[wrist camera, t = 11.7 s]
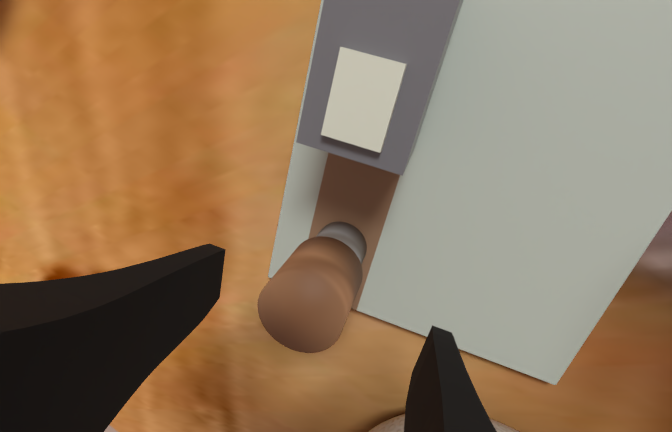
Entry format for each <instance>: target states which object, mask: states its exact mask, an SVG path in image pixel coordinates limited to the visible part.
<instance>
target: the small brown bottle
mask: <svg viewBox="0 0 672 432" xmlns="http://www.w3.org/2000/svg"><path fill="white" fill-rule="evenodd" d="M366 252H367V244H366V240H365V238H364V236H363V234H362V233H361V232H360V230H358V229H357V228H356V227H355V226H353V225H351V224H349V223H346V222H339V221H338V222H332V223H329V224H327V225H326V226H324V227H323V228H322V229H321V230H320V232H319V233H318V234H317V236H316V237H313V238H310V239H307V240H305V241H304V242H302V243H301V244H300V245H299V246H298V247H297V248H296V250H295V251H294V252H293V253H292V254H291V256H290V257H289V258H288V259H287V260H286V262H285V263H284V264H283V265H282V266H281V268H280V269H279V270H278V271H277V272H276V274H275V275H274V276H273V277H272V278H271V280H270V281H269V282H268V283H267V284H266V286H265V287H264V288H263V290H262V291H261V293H260V295H259V299H258V313H259V317H260V319H261V322H262V324H263V326H264V327H265V329H266V330H267V332H268V333H269V334H270V335H271V336H272V337H273V338H274V339H275V340H276V341H278V342H279V343H280V344H282V345H284V346H286V347H288V348H290V349H292V350H295V351H299V352H305V353H314V352H320V351H323V350H326V349H328V348H329V347H331V346H332V345H333V344H334V343H335V342H336V341H337V340H338V338H339V336H340V334H341V332H342V329H343V327H344V324H345V322H346V320H347V317H348V315H349V312H350V310H351V307H352V305H353V303H354V300H355V298H356V295H357V293H358V290H359V288H360V286H361V283H362V279H363V270H362V265H361V264H362V262H363V260H364V258H365V255H366Z"/></svg>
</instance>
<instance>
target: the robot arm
mask: <svg viewBox="0 0 672 432" xmlns="http://www.w3.org/2000/svg"><path fill="white" fill-rule="evenodd" d="M224 256H225V249H222V248H220V247H217V246H214V245H212V244H206V245H202V246H199V247H195V248H192V249H188V250H185V251H182V252H179V253H175V254H172V255H169V256H166V257H162V258H159V259H156V260H152V261H148V262H145V263H141V264H137V265H133V266H129V267H125V268H122V269H117V270H113V271H108V272H103V273H98V274H92V275H86V276H80V277H73V278H65V279H56V280H48V281H39V282H25V283H7V284H0V432H104V431H105V429H106V428H107V427H108V425H109V424H110V423H111V422H112V420H113V419H114V418H115V416H116V415H117V414H118V412H119V411H120V410H121V409H122V407H123V406H124V405H125V403H126V402H127V401H128V400H129V399H130V397H131V396H132V395H133V394H134V392H135V391H136V390H137V389H138V387H139V386H140V385H141V384H142V383H143V381H144V380H145V379H146V378H147V377H148V376H149V375H150V374H151V372H152V371H153V370H154V369H155V368H156V367H157V366H158V365H159V364H160V363H161V362H162V361H163V360H164V359H165V358H166V357H167V356H168V355H169V354H170V353H171V352H172V351H173V350H174V349H175V348H176V347H177V346H178V345H179V344H180V343H181V342H182V341H183V340H184V339H185V338H186V337H187V336H188V335H189V334H190V333H191V332H192V331H193V330H194V329H195V328H196V327H197V326H198V325H199V323H200V322H201V321H202V320H203V319H204V318H205V316H206V315H207V314H208V313H209V311H210V310H211V309H212V307H213V306H214V304H215V303H216V302H217V300H218V299H219V297H220V289H221V281H222V273H223V264H224ZM404 432H497V431H496V429H495V428H494V426H493V424H492V422H491V421H490V419H489V417H488V415H487V413H486V411H485V409H484V407H483V405H482V403H481V401H480V399H479V397H478V395H477V393H476V391H475V388H474V386H473V384H472V382H471V379H470V377H469V375H468V373H467V370H466V368H465V365H464V363H463V360H462V358H461V355H460V352H459V350H458V347H457V344H456V342H455V339H454V336H453V334H452V332H449V331H446V330H444V329H441V328H438V327H435V326H433V325H432V327H431V329H430V332H429V334H428V337H427V339H426V341H425V344H424V346H423V348H422V351H421V353H420V355H419V358H418V360H417V362H416V365H415V367H414V370H413V372H412V376H411V381H410V385H409V390H408V396H407V401H406V410H405V422H404Z"/></svg>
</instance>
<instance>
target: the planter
mask: <svg viewBox="0 0 672 432" xmlns="http://www.w3.org/2000/svg"><path fill="white" fill-rule="evenodd" d="M489 419H490V418H489ZM490 421H491V422H492V424H493V426H494V428H495V429H496V431H497V432H519V431H517V430H515V429H513V428H511V427H509V426H507V425H505V424H503V423H500V422H498V421H495V420H492V419H490ZM404 422H405V414H403V415H400V416H397V417H394V418H391V419H389V420H387V421H385V422H383V423H381V424H379V425H377V426H376V427H374V428H373V429H371V430H370V431H368V432H404Z"/></svg>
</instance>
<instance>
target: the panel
mask: <svg viewBox="0 0 672 432" xmlns="http://www.w3.org/2000/svg"><path fill="white" fill-rule="evenodd" d="M323 2H324V0H321V6H320V11H319V16H318V21H317V26H316V31H315V37H314V42H313V47H312V52H311V57H310V62H309V68H308V73H307V78H306V83H305V88H304V93H303V99H302V104H301V109H300V114H299V119H298V124H297V130H296V135H295V140H294V145H293V150H292V155H291V161H290V166H289V171H288V176H287V181H286V186H285V192H284V197H283V202H282V207H281V212H280V217H279V223H278V228H277V233H276V238H275V243H274V248H273V254H272V259H271V264H270V269H269V274H268V277H269V278H272V277H273V276H274V275H275V274H276V272H277V271H278V270H279V269H280V268H281V266H282V265H283V264H284V263H285V262H286V260H287V259H288V258H289V257H290V256H291V254H292V253H293V252H294V251H295V250H296V248H297V247H298V246H299V245H300V244H301V243H302V242H304V241H305V240H307V239H310V238H313V237H316V236H317V234H318V233H319V232H320V230H321V229H322V228H323V227H324V226H326V225H327V224H329V223H332V222H338V221H339V222H346V223H349V224H351V225H353V226H355V227H356V228H357V229H358V230H360V232H361V233H362V234H363V236H364V238H365V240H366V244H367V252H366V255H365V258H364V260H363V262H362V264H361V265H362V270H363V279H362V283H361V286H360V288H359V290H358V293H357V295H356V298H355V300H354V303H353V305H352V307H351V308H352V309H354V310H357V311H360V312H362V313H365V314H368V315H370V316H373V317H376V318H378V319H381V320H384V321H386V322H389V323H392V324H394V325H397V326H399V327H402V328H405V329H407V330H410V331H413V332H415V333H418V334H421V335H423V336H426V337H428V334H429V332H430V329H431V327H432V325H433V326H435V327H438V328H441V329H444V330H446V331H449V332H452V334H453V336H454V339H455V342H456V344H457V347H458V349H461V350H463V351H466V352H469V353H471V354H474V355H477V356H479V357H482V358H485V359H487V360H490V361H492V362H495V363H498V364H500V365H503V366H506V367H508V368H511V369H514V370H516V371H519V372H522V373H524V374H527V375H530V376H532V377H535V378H538V379H540V380H543V381H546V382H548V383H551V384H554V385H556V384H557V382H558V381H559V379H560V378H561V376H562V375H563V373H564V372H565V370H566V369H567V367H568V366H569V364H570V363H571V361H572V360H573V358H574V357H575V355H576V354H577V352H578V351H579V349H580V348H581V346H582V345H583V343H584V342H585V340H586V339H587V337H588V336H589V334H590V333H591V331H592V330H593V328H594V327H595V325H596V324H597V322H598V321H599V319H600V318H601V316H602V315H603V313H604V312H605V310H606V309H607V307H608V306H609V304H610V303H611V301H612V300H613V298H614V297H615V295H616V294H617V292H618V291H619V289H620V287H621V286H622V284H623V283H624V281H625V280H626V278H627V277H628V275H629V274H630V272H631V271H632V269H633V268H634V266H635V265H636V263H637V262H638V260H639V259H640V257H641V256H642V254H643V253H644V251H645V250H646V248H647V247H648V245H649V244H650V242H651V241H652V239H653V238H654V236H655V235H656V233H657V232H658V230H659V229H660V227H661V226H662V224H663V223H664V221H665V220H666V218H667V217H668V215H669V214H670V212H671V211H672V0H463V3H462V6H461V9H460V12H459V15H458V18H457V21H456V24H455V27H454V30H453V33H452V36H451V39H450V42H449V45H448V48H447V51H446V54H445V58H444V61H443V64H442V67H441V70H440V73H439V76H438V79H437V82H436V85H435V88H434V91H433V94H432V97H431V100H430V103H429V106H428V109H427V112H426V115H425V118H424V121H423V124H422V127H421V130H420V133H419V136H418V140H417V143H416V146H415V149H414V151H413V153H412V156H411V158H410V160H409V162H408V165H407V167H406V169H405V172H404V174H403V176H402V175H399V174H396V173H392V172H389V171H386V170H383V169H380V168H376V167H373V166H370V165H367V164H364V163H360V162H357V161H354V160H351V159H348V158H344V157H341V156H338V155H335V154H332V153H329V152H325V151H322V150H319V149H316V148H313V147H309V146H306V145H303V144H300V143H297V142H296V140H297V135H298V130H299V125H300V120H301V115H302V110H303V105H304V100H305V94H306V89H307V84H308V79H309V74H310V69H311V64H312V59H313V53H314V48H315V43H316V38H317V33H318V28H319V23H320V18H321V13H322V7H323Z"/></svg>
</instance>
